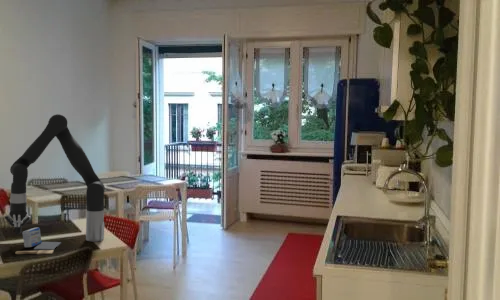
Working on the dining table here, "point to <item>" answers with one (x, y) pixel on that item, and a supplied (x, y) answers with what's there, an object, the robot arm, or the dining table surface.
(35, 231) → the medicine box
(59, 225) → the dining table surface
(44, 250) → the wooden turner
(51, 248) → the rubber mat
